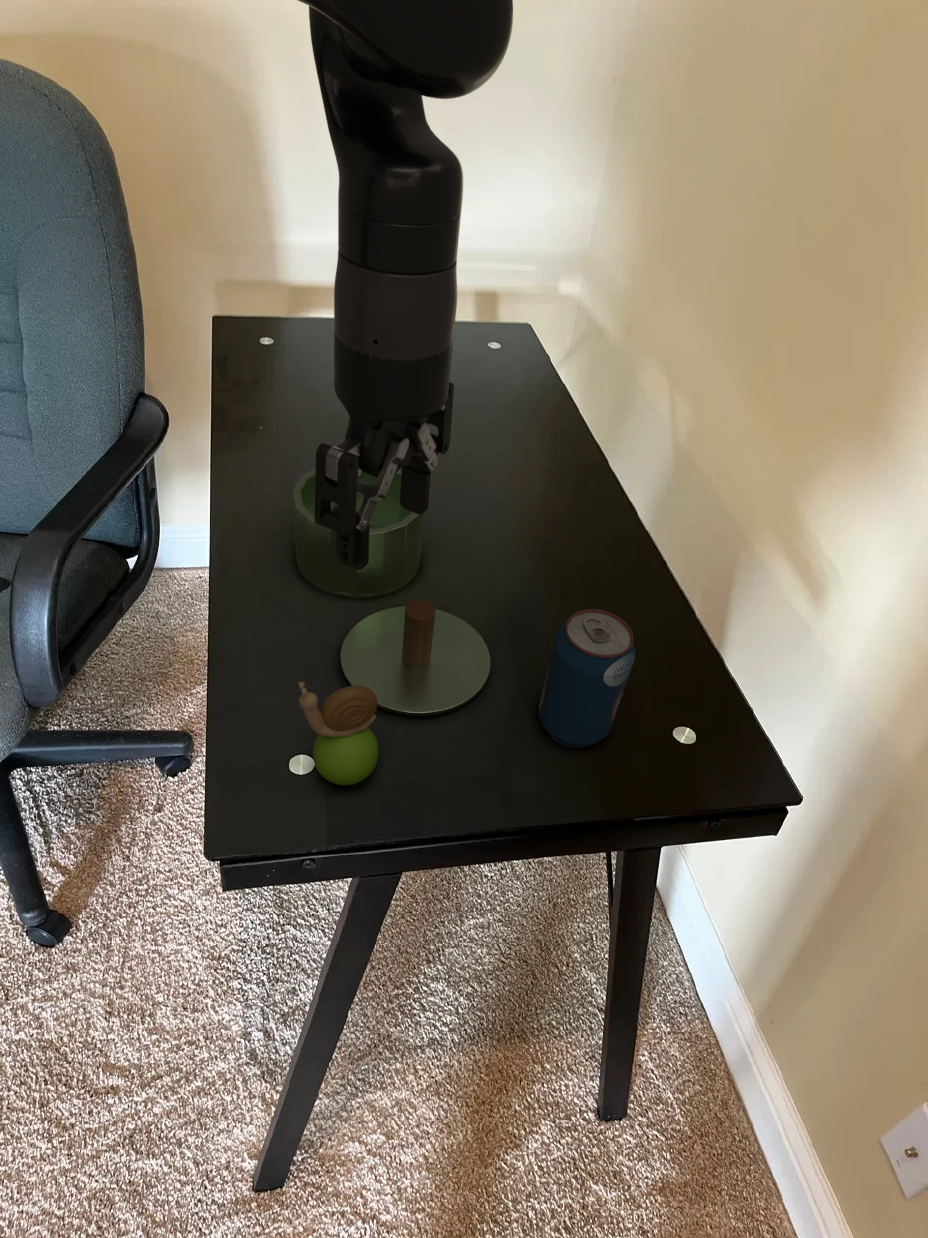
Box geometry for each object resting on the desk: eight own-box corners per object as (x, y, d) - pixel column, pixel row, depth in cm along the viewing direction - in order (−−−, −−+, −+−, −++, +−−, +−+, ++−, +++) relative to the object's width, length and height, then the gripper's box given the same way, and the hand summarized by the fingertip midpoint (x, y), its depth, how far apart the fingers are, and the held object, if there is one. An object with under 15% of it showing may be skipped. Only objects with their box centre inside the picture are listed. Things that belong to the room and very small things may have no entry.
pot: (303, 603, 86) (300, 537, 80) (291, 526, 95) (288, 462, 90) (430, 592, 89) (437, 529, 83) (406, 518, 99) (410, 457, 93)
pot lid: (352, 729, 74) (353, 675, 69) (331, 620, 84) (330, 566, 80) (506, 710, 78) (517, 657, 73) (469, 608, 88) (476, 555, 83)
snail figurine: (294, 759, 71) (288, 661, 63) (365, 740, 73) (368, 643, 65) (312, 809, 68) (309, 713, 59) (386, 787, 70) (392, 692, 62)
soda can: (621, 746, 76) (654, 654, 68) (551, 759, 74) (577, 666, 66) (591, 691, 81) (619, 599, 73) (525, 702, 79) (546, 609, 71)
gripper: (384, 387, 46) (375, 605, 57) (498, 310, 56) (471, 508, 66) (274, 347, 48) (286, 565, 59) (402, 280, 58) (392, 477, 69)
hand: (384, 535), depth 63 cm, fingers open, 8 cm apart
